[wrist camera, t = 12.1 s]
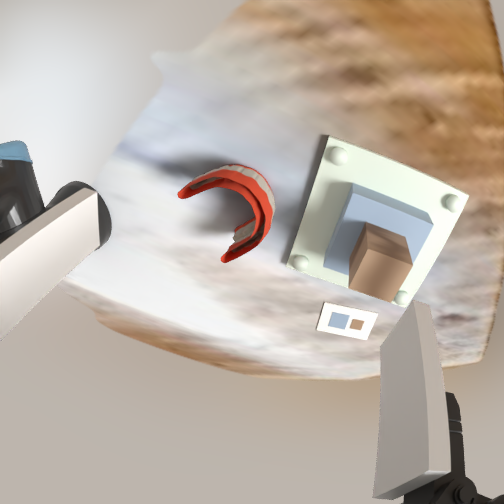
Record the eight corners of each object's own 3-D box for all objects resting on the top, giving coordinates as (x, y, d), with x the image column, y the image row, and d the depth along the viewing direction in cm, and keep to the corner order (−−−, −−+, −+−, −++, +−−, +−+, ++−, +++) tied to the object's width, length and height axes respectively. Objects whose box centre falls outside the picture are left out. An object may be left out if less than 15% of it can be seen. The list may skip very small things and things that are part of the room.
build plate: (287, 262, 53) (284, 270, 51) (329, 135, 41) (328, 138, 39) (405, 303, 51) (406, 311, 49) (466, 192, 38) (471, 198, 37)
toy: (295, 214, 48) (286, 240, 42) (240, 238, 53) (224, 265, 47) (253, 142, 44) (236, 156, 38) (199, 173, 49) (175, 192, 43)
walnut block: (349, 257, 44) (348, 288, 38) (365, 221, 40) (368, 248, 35) (387, 271, 43) (390, 302, 37) (405, 236, 40) (413, 265, 34)
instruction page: (316, 329, 59) (316, 330, 59) (324, 301, 55) (324, 302, 55) (366, 339, 57) (366, 340, 57) (378, 313, 53) (378, 314, 53)
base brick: (325, 252, 49) (322, 266, 46) (352, 182, 42) (353, 192, 39) (394, 276, 48) (396, 292, 44) (427, 212, 41) (433, 224, 38)
